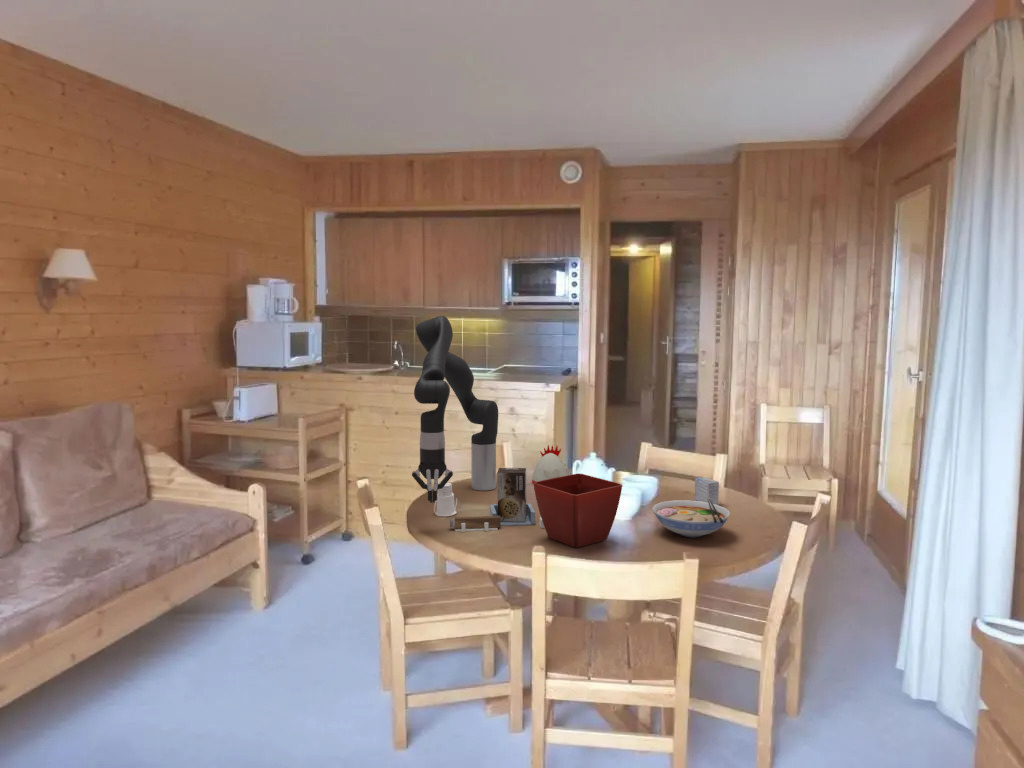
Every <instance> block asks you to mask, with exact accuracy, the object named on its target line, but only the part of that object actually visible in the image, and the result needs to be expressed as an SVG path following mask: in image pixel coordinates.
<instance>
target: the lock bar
mask: <svg viewBox="0 0 1024 768" xmlns="http://www.w3.org/2000/svg"><path fill="white" fill-rule="evenodd" d="M461 523H465V528H484V523H488V528H492V527H497V528H501V527H502V526H501V517H500V516H490V515H488V516H487V515H486V516H483V515H482V516H455V517H454V518H449V528H454V530H455V529H461Z"/></svg>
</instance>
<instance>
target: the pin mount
mask: <svg viewBox="0 0 1024 768" xmlns="http://www.w3.org/2000/svg"><path fill="white" fill-rule="evenodd" d="M538 518H539V520H538V521H539V527H540V529H545V527H544V524H543V521H542V518H541V516H539V517H538ZM498 528H499V527H492V528H488V523H484V528H465V523H461V529H455V528H454V531H455V532H461V533H466V532H468V531H469V532H470V531H473V532H477V531H479V532H480V531H484V532H489V531H498Z"/></svg>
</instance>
